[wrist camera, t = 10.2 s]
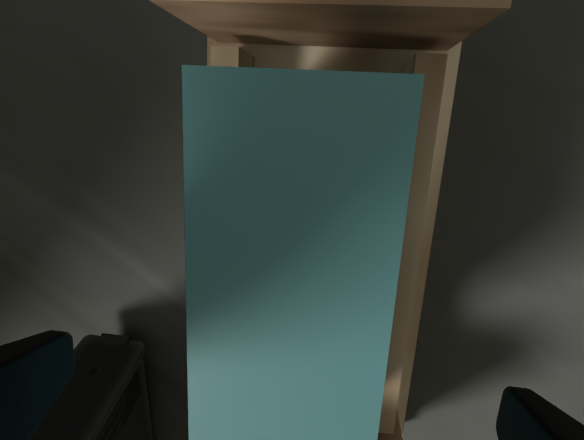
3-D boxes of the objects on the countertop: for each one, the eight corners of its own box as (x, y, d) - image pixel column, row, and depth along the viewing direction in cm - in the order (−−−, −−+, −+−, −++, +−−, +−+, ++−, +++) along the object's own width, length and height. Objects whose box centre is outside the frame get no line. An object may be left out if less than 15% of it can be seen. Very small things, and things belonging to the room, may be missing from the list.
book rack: (461, 0, 15) (552, -92, 9) (398, 425, 21) (425, 574, 14) (215, -5, 17) (126, -90, 10) (213, 399, 22) (154, 525, 15)
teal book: (376, 101, 16) (425, 74, 6) (349, 362, 19) (354, 614, 9) (278, 96, 16) (181, 64, 7) (267, 352, 19) (191, 582, 10)
